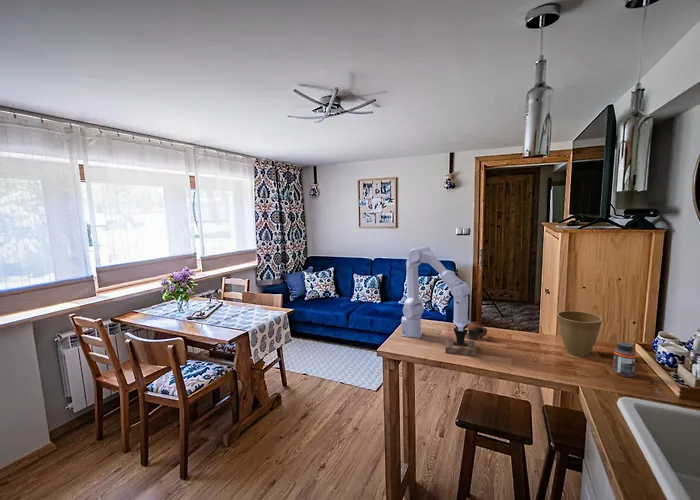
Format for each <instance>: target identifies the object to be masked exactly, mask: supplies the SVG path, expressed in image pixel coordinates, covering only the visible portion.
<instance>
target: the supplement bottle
mask: <svg viewBox="0 0 700 500" xmlns="http://www.w3.org/2000/svg"><path fill="white" fill-rule="evenodd" d="M633 347H634V346H633V344H631V343H630V342H625V341H619V342H618V343H617V346H616V347H615V348H614V350H613V363H612V370H613V373H614V374H616V375H619V376H621V377H624V378H632V377H634V376H635V371H636V358H637V357H636V356H637V355H636V351H634V350H633Z"/></svg>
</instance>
